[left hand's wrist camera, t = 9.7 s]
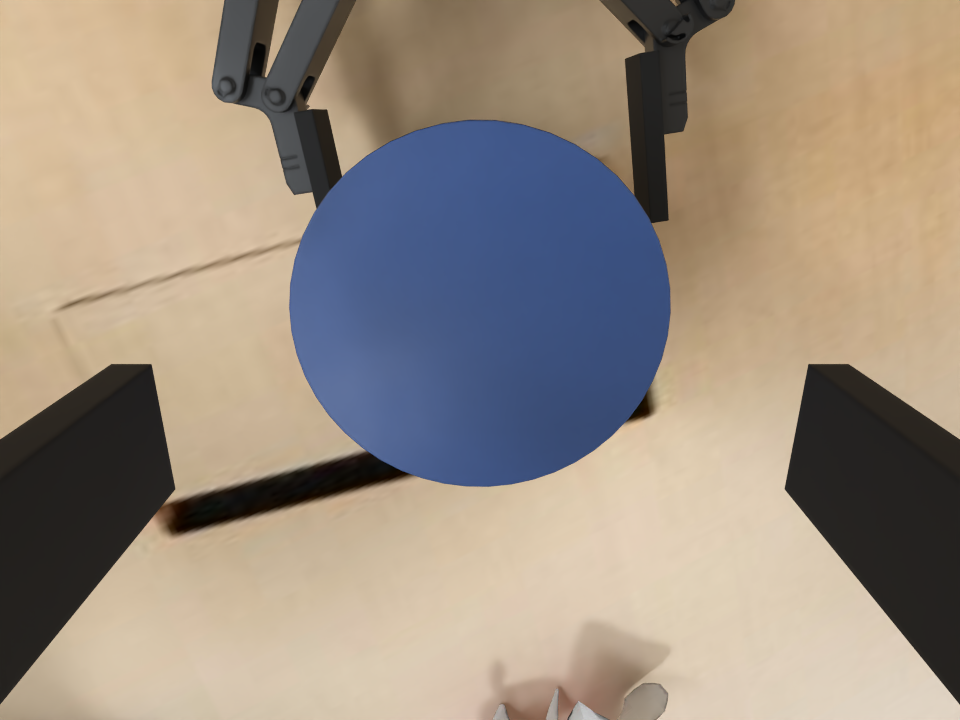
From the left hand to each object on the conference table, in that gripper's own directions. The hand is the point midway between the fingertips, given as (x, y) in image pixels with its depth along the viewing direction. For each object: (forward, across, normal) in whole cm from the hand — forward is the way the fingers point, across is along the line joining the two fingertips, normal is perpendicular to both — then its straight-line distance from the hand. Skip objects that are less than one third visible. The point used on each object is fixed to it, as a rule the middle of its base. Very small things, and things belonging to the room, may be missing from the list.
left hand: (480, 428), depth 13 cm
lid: (+7, 0, 0) cm, 7 cm away
